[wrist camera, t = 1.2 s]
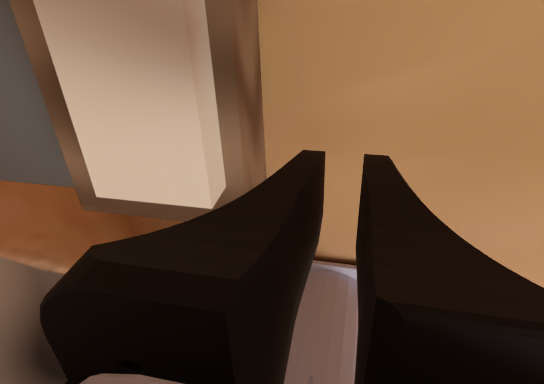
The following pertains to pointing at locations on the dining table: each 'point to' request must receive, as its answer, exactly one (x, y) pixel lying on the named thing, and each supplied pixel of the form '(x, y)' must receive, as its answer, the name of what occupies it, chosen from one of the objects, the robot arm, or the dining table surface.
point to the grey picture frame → (25, 115)
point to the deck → (229, 98)
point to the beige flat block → (140, 96)
